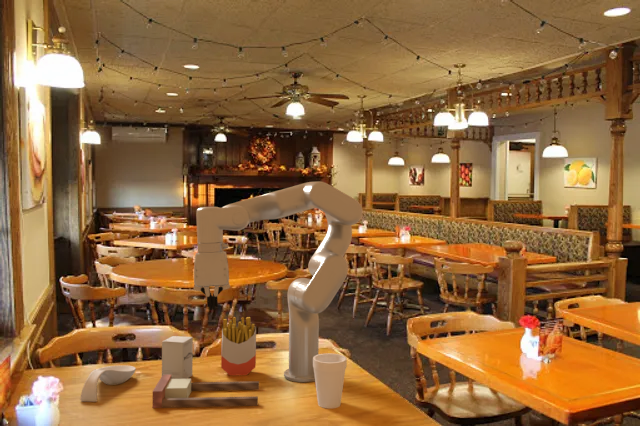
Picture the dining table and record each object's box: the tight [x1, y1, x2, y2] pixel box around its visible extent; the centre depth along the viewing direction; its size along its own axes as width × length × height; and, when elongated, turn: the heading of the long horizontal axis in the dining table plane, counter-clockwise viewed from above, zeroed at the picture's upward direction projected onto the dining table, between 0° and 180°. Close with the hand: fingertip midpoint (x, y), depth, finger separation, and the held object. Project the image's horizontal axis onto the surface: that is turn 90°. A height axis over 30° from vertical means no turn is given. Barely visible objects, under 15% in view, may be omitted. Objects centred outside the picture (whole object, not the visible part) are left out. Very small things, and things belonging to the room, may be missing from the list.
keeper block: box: [165, 378, 192, 398], centre depth 159 cm, size 6×8×4 cm
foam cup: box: [313, 352, 348, 409], centre depth 154 cm, size 10×9×13 cm
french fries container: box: [220, 316, 257, 376], centre depth 179 cm, size 5×11×18 cm, turn 94°
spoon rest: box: [80, 365, 137, 403], centre depth 165 cm, size 24×12×7 cm, turn 177°
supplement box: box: [161, 335, 194, 379], centre depth 174 cm, size 7×7×13 cm
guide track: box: [152, 374, 260, 409], centre depth 158 cm, size 28×14×4 cm, turn 95°
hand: (212, 308), depth 165 cm, fingers closed
